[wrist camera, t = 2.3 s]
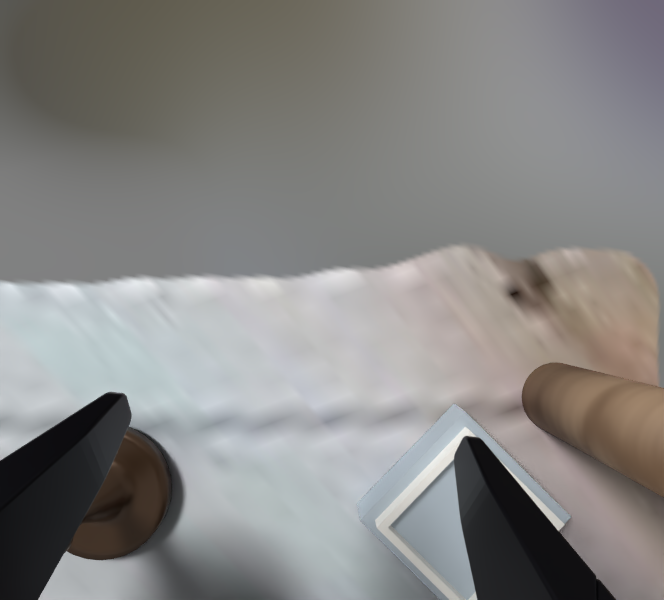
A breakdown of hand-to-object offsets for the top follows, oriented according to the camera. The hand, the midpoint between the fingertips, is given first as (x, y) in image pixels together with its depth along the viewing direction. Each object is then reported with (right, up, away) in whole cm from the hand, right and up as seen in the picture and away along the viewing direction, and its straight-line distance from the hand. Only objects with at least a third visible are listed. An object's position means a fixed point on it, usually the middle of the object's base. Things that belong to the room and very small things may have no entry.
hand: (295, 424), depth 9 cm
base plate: (+10, -11, +16) cm, 22 cm away
